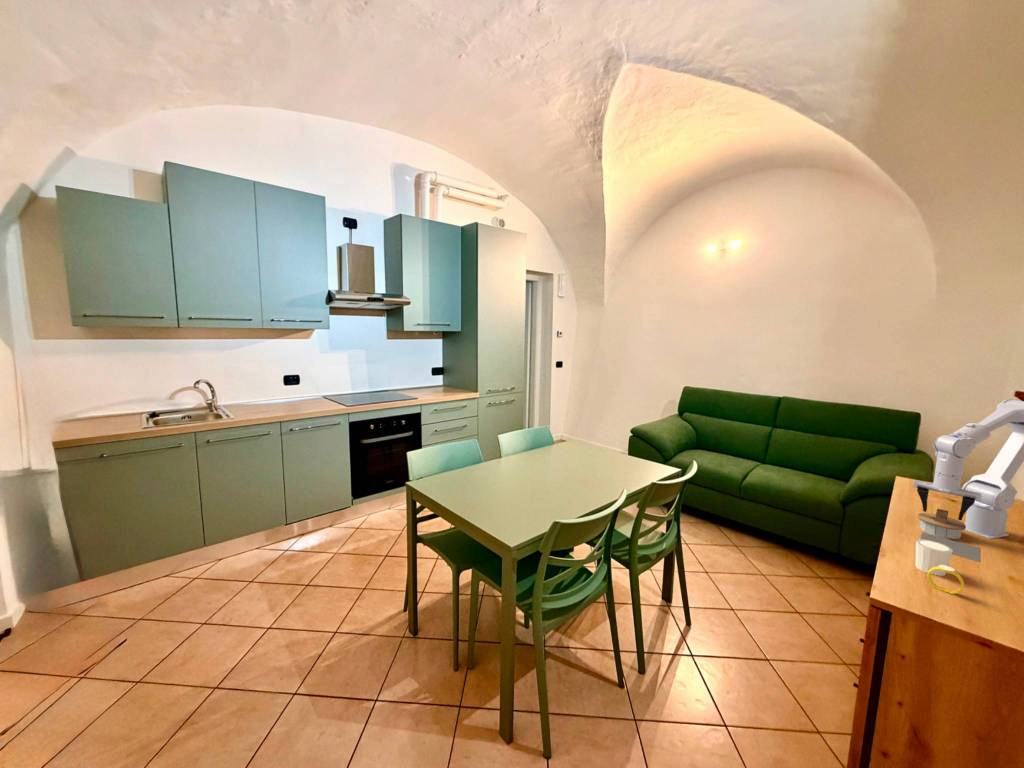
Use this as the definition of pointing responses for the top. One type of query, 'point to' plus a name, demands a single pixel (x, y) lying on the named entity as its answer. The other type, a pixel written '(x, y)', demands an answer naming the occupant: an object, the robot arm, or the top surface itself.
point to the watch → (947, 570)
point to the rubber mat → (956, 547)
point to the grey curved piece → (940, 531)
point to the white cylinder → (932, 555)
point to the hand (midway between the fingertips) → (941, 515)
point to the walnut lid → (941, 520)
